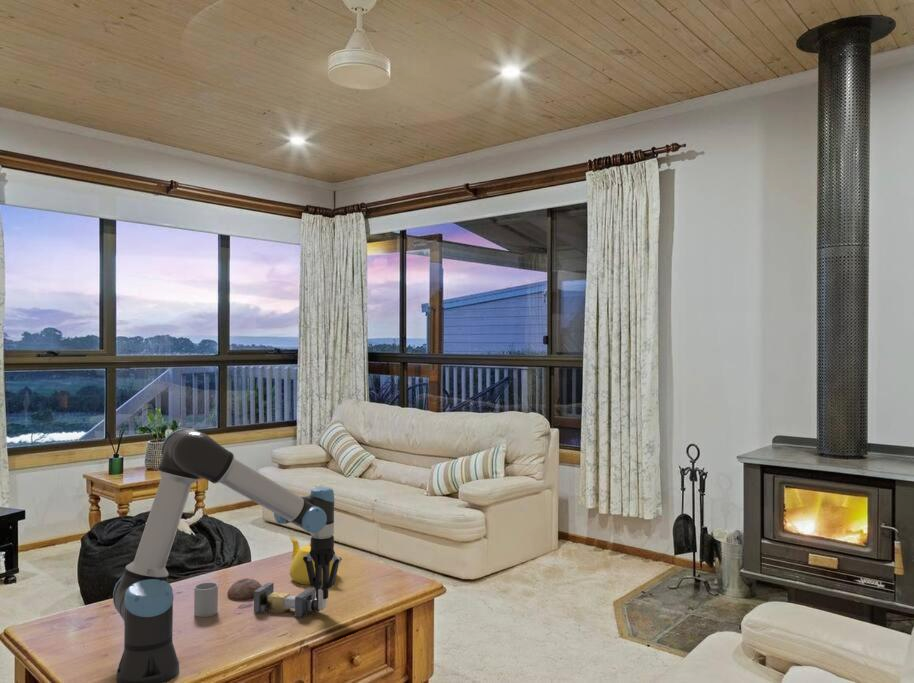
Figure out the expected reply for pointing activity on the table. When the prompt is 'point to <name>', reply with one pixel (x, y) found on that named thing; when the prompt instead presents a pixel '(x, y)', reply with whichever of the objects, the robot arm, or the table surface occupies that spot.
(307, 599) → the shaft
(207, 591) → the cup
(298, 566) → the teapot
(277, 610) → the block
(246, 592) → the decorative stone
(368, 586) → the table surface
